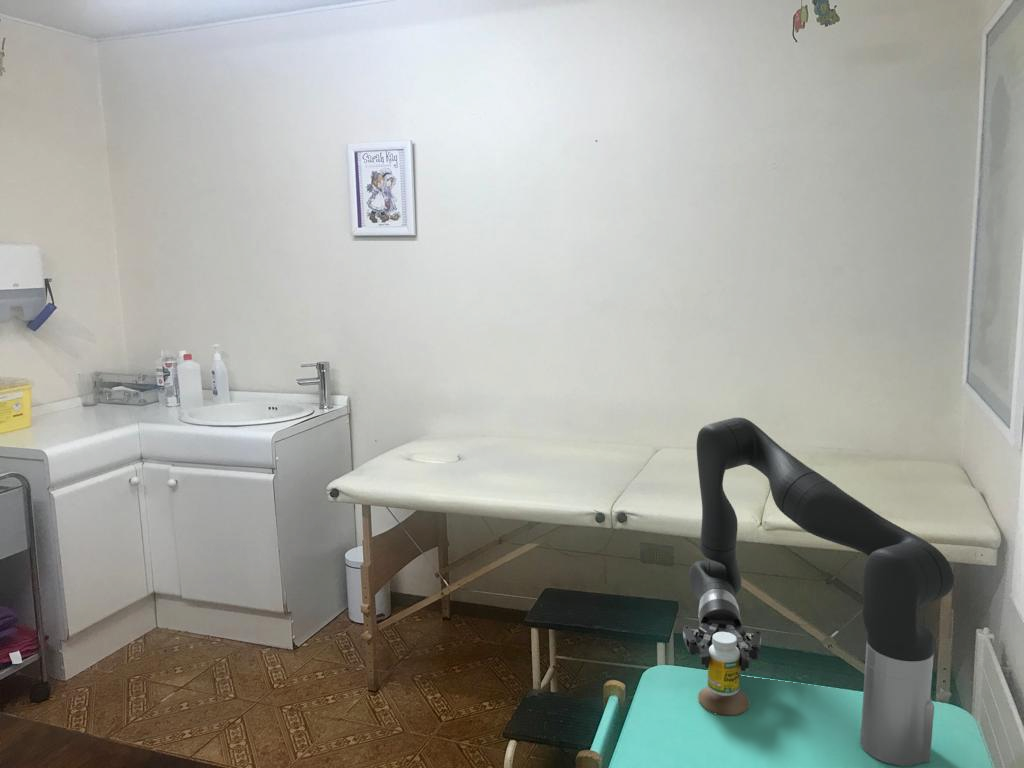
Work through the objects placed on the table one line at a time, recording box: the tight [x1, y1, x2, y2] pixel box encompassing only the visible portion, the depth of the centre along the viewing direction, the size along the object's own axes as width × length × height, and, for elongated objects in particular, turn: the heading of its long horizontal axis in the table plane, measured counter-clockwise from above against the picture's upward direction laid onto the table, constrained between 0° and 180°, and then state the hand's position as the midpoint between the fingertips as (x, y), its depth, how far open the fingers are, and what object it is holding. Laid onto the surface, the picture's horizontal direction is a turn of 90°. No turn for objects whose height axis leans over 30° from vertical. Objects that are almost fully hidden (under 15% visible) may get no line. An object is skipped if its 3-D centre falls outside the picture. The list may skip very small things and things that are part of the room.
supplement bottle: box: [707, 632, 741, 696], centre depth 139 cm, size 5×5×10 cm
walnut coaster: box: [697, 685, 750, 717], centre depth 140 cm, size 8×8×1 cm
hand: (725, 664), depth 136 cm, fingers closed on supplement bottle, 5 cm apart
